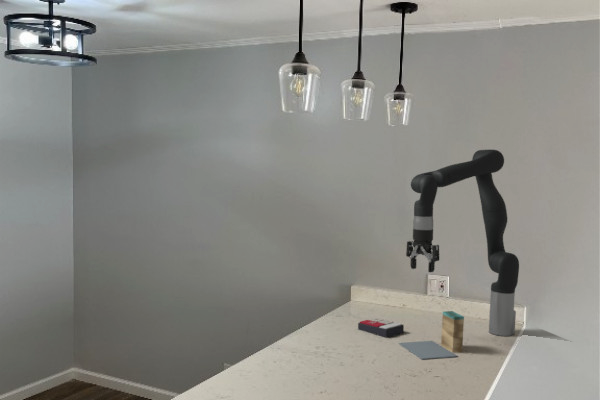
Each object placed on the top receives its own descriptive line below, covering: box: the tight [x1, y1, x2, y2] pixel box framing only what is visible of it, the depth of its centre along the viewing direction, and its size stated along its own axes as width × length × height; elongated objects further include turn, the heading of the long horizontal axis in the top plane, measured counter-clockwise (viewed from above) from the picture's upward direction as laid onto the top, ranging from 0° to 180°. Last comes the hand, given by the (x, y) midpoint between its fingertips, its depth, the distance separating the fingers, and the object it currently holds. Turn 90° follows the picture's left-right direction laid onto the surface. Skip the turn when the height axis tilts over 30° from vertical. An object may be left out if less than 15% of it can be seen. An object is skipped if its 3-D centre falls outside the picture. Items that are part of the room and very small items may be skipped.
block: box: [440, 310, 465, 353], centre depth 220 cm, size 4×8×13 cm, turn 17°
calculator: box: [357, 317, 405, 339], centre depth 241 cm, size 11×4×15 cm
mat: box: [398, 340, 458, 360], centre depth 218 cm, size 14×18×1 cm
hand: (422, 270), depth 226 cm, fingers open, 8 cm apart
